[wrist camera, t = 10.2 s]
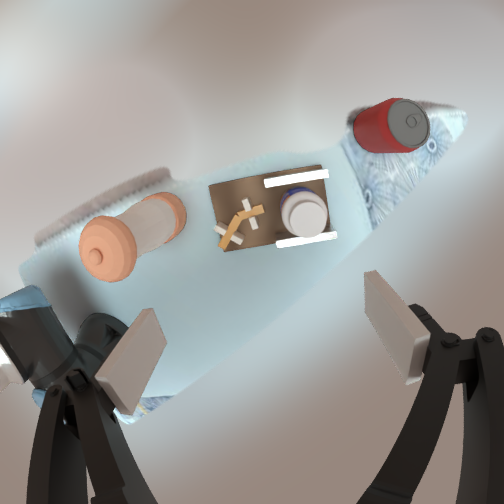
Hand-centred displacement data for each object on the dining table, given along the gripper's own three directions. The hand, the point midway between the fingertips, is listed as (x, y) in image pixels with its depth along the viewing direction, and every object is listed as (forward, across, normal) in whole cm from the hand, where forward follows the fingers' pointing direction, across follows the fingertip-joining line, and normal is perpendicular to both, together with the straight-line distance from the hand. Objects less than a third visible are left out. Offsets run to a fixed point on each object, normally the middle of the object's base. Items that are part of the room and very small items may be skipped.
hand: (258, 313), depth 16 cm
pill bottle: (+24, +6, +2) cm, 25 cm away
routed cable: (+24, -3, +1) cm, 24 cm away
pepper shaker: (+26, -14, +4) cm, 30 cm away
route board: (+25, +2, +2) cm, 25 cm away
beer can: (+25, +19, +11) cm, 33 cm away
